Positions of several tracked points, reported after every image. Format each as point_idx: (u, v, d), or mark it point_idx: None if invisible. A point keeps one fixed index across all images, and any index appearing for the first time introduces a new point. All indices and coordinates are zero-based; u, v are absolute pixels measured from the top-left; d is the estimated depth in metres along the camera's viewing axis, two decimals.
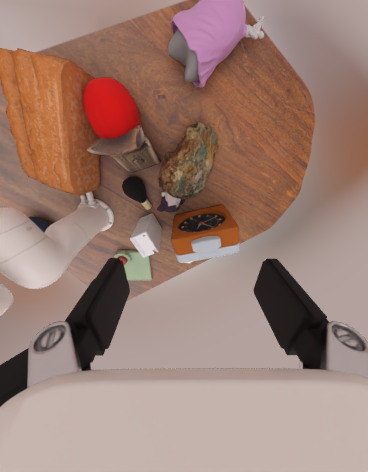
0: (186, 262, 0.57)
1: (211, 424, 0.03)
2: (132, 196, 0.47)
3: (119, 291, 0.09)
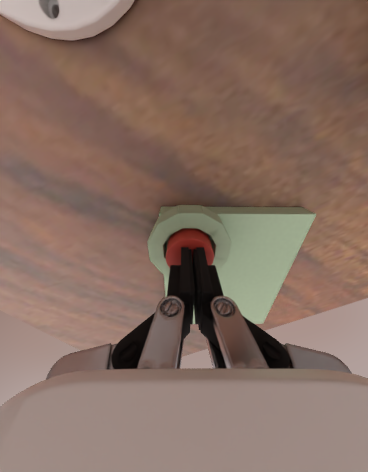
0: None
1: (211, 424, 0.03)
2: None
3: None
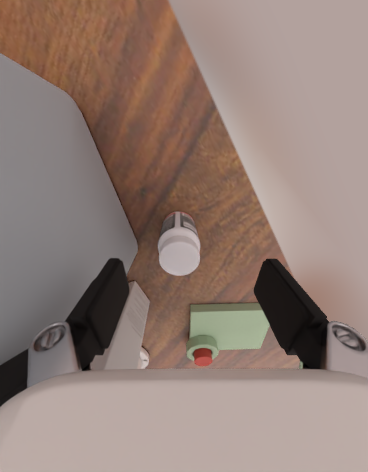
0: (196, 265, 0.15)
1: (211, 424, 0.03)
2: None
3: (119, 291, 0.09)
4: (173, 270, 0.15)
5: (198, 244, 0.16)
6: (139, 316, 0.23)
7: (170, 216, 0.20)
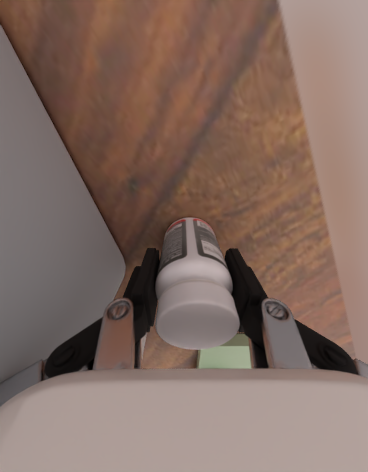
0: (229, 336, 0.07)
1: (212, 424, 0.03)
2: None
3: None
4: (184, 343, 0.08)
5: (230, 287, 0.09)
6: None
7: (178, 225, 0.12)
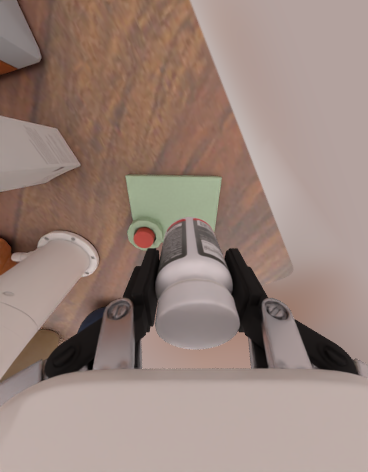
0: (229, 336, 0.07)
1: (212, 424, 0.03)
2: None
3: None
4: (184, 343, 0.08)
5: (231, 287, 0.09)
6: (50, 150, 0.20)
7: (178, 225, 0.12)
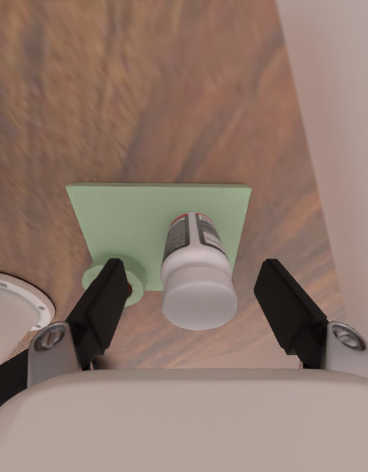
0: (228, 317, 0.08)
1: (212, 424, 0.03)
2: None
3: (119, 291, 0.09)
4: (187, 323, 0.08)
5: (230, 274, 0.09)
6: None
7: (181, 219, 0.13)
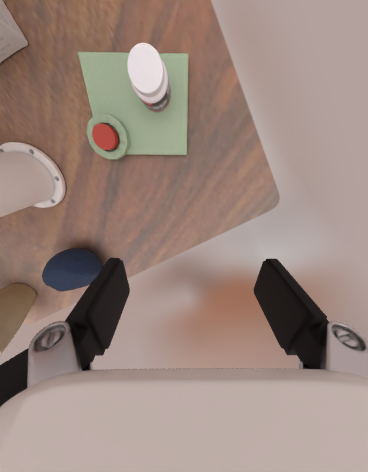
0: (160, 77, 0.17)
1: (211, 424, 0.03)
2: None
3: (119, 291, 0.09)
4: (141, 84, 0.17)
5: (165, 70, 0.18)
6: None
7: None
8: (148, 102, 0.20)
